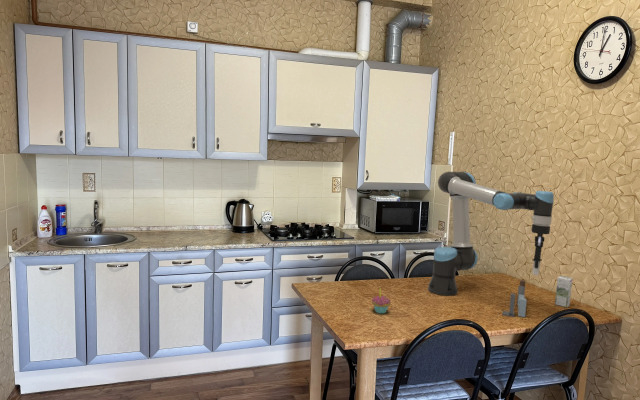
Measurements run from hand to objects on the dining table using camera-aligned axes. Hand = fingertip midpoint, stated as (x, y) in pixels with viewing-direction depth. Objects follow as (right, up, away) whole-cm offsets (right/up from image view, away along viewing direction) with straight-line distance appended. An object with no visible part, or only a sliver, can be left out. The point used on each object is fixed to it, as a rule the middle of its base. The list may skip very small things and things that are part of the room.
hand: (535, 274), depth 200 cm
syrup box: (+22, -19, +17) cm, 34 cm away
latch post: (-13, -19, 0) cm, 23 cm away
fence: (+3, -17, +22) cm, 28 cm away
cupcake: (-73, -16, -5) cm, 75 cm away
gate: (-4, -18, +6) cm, 20 cm away
